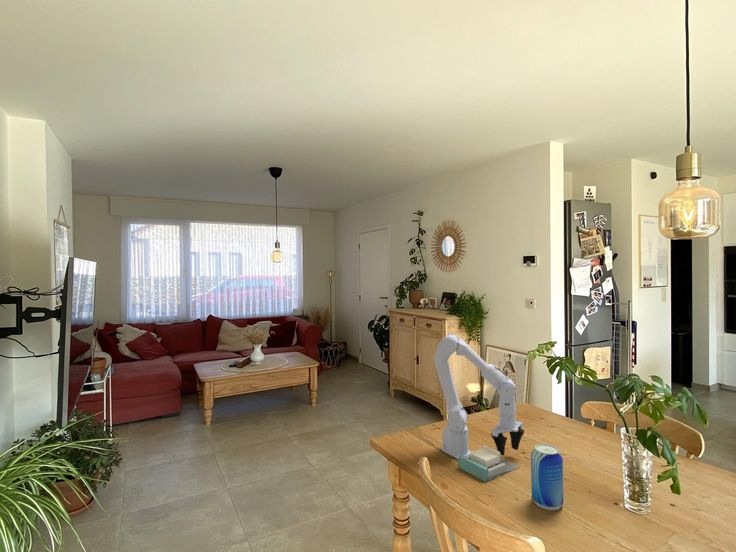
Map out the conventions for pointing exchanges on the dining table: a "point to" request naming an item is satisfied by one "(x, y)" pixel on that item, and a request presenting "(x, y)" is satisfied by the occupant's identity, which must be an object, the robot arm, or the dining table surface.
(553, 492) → the beer can
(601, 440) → the dining table surface
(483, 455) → the cream notched block
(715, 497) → the dining table surface
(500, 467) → the dock
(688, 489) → the dining table surface
